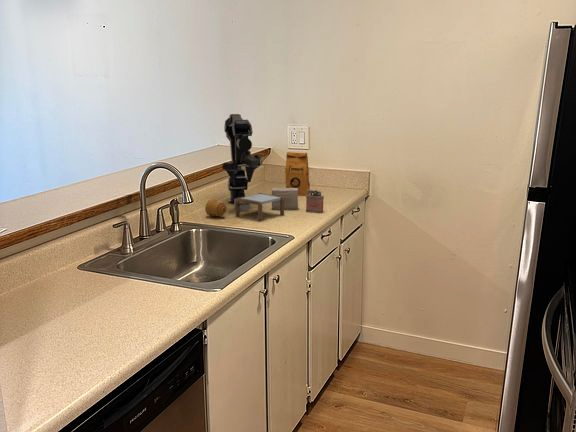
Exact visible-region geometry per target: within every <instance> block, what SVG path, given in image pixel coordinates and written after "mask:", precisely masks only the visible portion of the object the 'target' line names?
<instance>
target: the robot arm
mask: <svg viewBox="0 0 576 432" xmlns="http://www.w3.org/2000/svg"><path fill="white" fill-rule="evenodd" d="M223 131H224V133H225V136H226V137H225V138H227V140H228V141H229V147H230V157H231V161H227V162H223V164H222V170H224V171H225V172H226V173H227V175H228V176H229V177H228V180H227V189H228V191H229V192H230V200H228V201H227V202H228V203H230V204H234V199H236V198H241V197H246V194H245V191H247V190H248V183H251V181H252V178H253V175H254V173H255V171H256V170H257V169H258V168H259V167H261V155H260V154H255V155H252V154H251V149H252V146H253V143H252V141H251V139H250V138H249V137H252V136H253V135H252V134H253V126H252V124H251V122H250V120H249V119H243V118H242V115H241V114H239V113H231V114H229V116H228V118H227V119H226V120H224V130H223ZM242 167H244V168H245V169H243V168H242Z"/></svg>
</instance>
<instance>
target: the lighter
mask: <svg viewBox="0 0 576 432" xmlns="http://www.w3.org/2000/svg"><path fill="white" fill-rule="evenodd" d="M308 193H310V194H308V195H306V196H305V198H306V199H305V200H306V203H305V206H306V207H305V209H306V210H305V212H306V213H313V214H323V213H324V198H325V196H324V195H322V191H321V190H318V189H315V190H314V189H310V190H308Z"/></svg>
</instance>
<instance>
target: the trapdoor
mask: <svg viewBox="0 0 576 432" xmlns="http://www.w3.org/2000/svg"><path fill="white" fill-rule="evenodd" d="M264 194H265V193H263V194H258V193H256V194H253V195H249V196H245V197H243V198H242V199H247V200H253V201H258V202H262V205H265V204H269V203H272V202H274V201H278V200H281V197H275V196H269V195H270V194H269V195H264Z"/></svg>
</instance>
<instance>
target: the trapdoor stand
mask: <svg viewBox="0 0 576 432" xmlns="http://www.w3.org/2000/svg"><path fill="white" fill-rule="evenodd" d="M257 194H264V195H269V196H275V195H272V194H270V193H269V194H268V193H262V192H259V193H257ZM275 197H280V196H275ZM240 202H241V203H240ZM246 204H250V205H254V206H257V216H258V217H257V222H260V223H261V222H263V204H262V202H258V201H253V200H247V199H242V198H236V210H235V217H237V218H239V217H240V216H241V213H240V212H241V211H240V206H242V205H246ZM279 212H280V213H279V215H280V217H282V216H285V209H284V197H281V200H280V209H279Z"/></svg>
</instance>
